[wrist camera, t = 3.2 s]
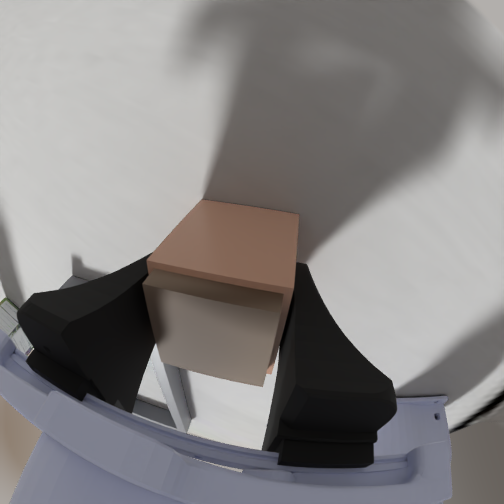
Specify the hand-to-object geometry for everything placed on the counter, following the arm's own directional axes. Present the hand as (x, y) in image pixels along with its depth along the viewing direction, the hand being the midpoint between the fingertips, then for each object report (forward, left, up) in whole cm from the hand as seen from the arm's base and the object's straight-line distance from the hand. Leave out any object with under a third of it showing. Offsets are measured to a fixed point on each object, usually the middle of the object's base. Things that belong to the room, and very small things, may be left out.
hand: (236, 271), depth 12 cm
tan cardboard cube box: (0, 0, -2) cm, 2 cm away
